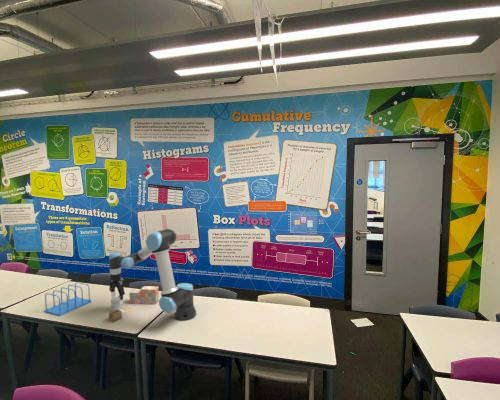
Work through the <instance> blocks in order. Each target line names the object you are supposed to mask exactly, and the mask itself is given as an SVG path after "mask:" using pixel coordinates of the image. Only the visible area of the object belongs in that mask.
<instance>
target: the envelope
mask: <svg viewBox="0 0 500 400" xmlns="http://www.w3.org/2000/svg"><path fill="white" fill-rule="evenodd" d="M108 311H112V310H111V308H110V309H108ZM120 311H122V313H125V312H127V313H128V312H131V311H135V309H134V308H132V307H130V306H128V305H126V304H124V303H123V309H122V310H120Z"/></svg>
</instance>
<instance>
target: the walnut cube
mask: <svg viewBox="0 0 500 400" xmlns="http://www.w3.org/2000/svg"><path fill="white" fill-rule="evenodd" d="M122 319H123V312H122V311H120V310H118V309H117V310H114V311H113V310H111V311H109V312H108V321H111V322H112V323H116V322H118V321H121V320H122Z"/></svg>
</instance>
